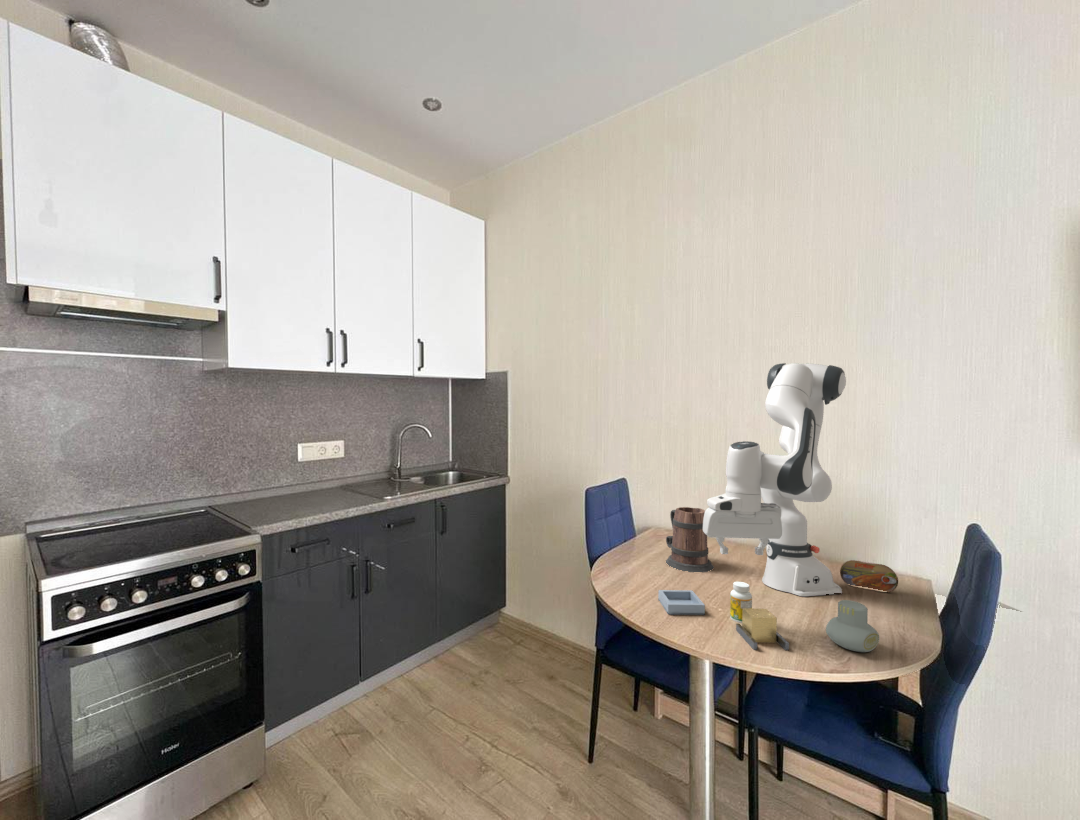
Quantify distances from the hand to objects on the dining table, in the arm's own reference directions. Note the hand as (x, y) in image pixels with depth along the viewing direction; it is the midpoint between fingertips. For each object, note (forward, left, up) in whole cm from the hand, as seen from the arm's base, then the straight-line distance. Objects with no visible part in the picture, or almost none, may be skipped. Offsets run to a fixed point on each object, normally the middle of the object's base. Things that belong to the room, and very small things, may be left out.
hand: (741, 554), depth 123 cm
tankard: (0, -47, -18) cm, 50 cm away
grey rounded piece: (-21, +13, -18) cm, 31 cm away
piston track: (0, +7, -18) cm, 19 cm away
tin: (-51, -23, -18) cm, 59 cm away
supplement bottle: (0, 0, -18) cm, 18 cm away
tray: (+14, -7, -18) cm, 24 cm away
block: (0, +10, -17) cm, 20 cm away
